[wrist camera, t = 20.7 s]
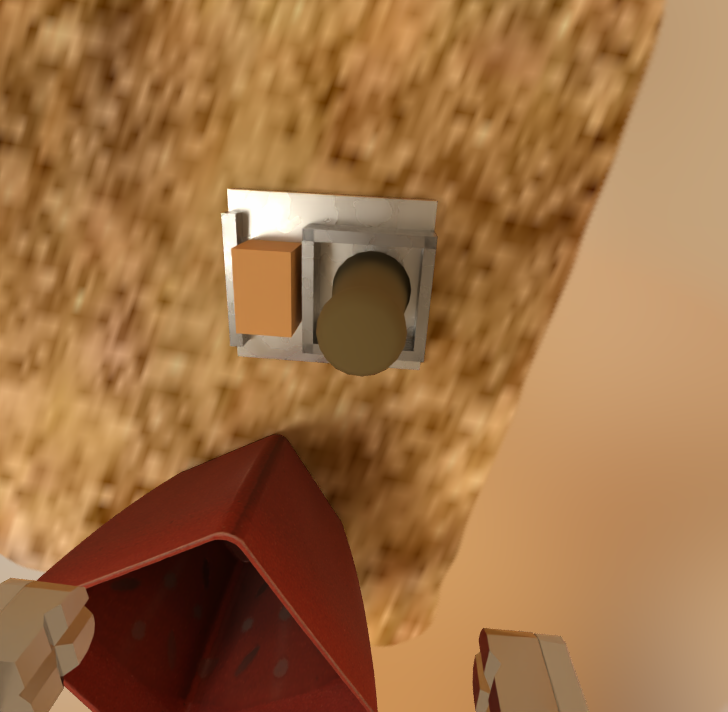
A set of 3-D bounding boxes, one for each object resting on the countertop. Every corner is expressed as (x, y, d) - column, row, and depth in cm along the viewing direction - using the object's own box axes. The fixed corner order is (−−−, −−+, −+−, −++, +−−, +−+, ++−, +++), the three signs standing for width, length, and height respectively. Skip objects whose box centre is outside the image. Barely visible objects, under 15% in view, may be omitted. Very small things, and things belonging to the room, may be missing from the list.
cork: (315, 282, 35) (280, 330, 25) (379, 233, 33) (369, 263, 23) (364, 342, 36) (349, 410, 26) (427, 298, 35) (437, 354, 25)
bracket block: (252, 316, 36) (236, 333, 33) (249, 239, 34) (231, 248, 30) (302, 319, 36) (291, 337, 32) (302, 242, 34) (290, 252, 30)
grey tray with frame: (243, 349, 39) (224, 371, 35) (234, 188, 34) (211, 191, 30) (418, 362, 38) (420, 386, 34) (435, 199, 33) (440, 205, 29)
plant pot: (390, 542, 46) (384, 732, 31) (235, 592, 51) (162, 779, 35) (296, 389, 40) (231, 529, 25) (130, 461, 45) (-13, 618, 29)
